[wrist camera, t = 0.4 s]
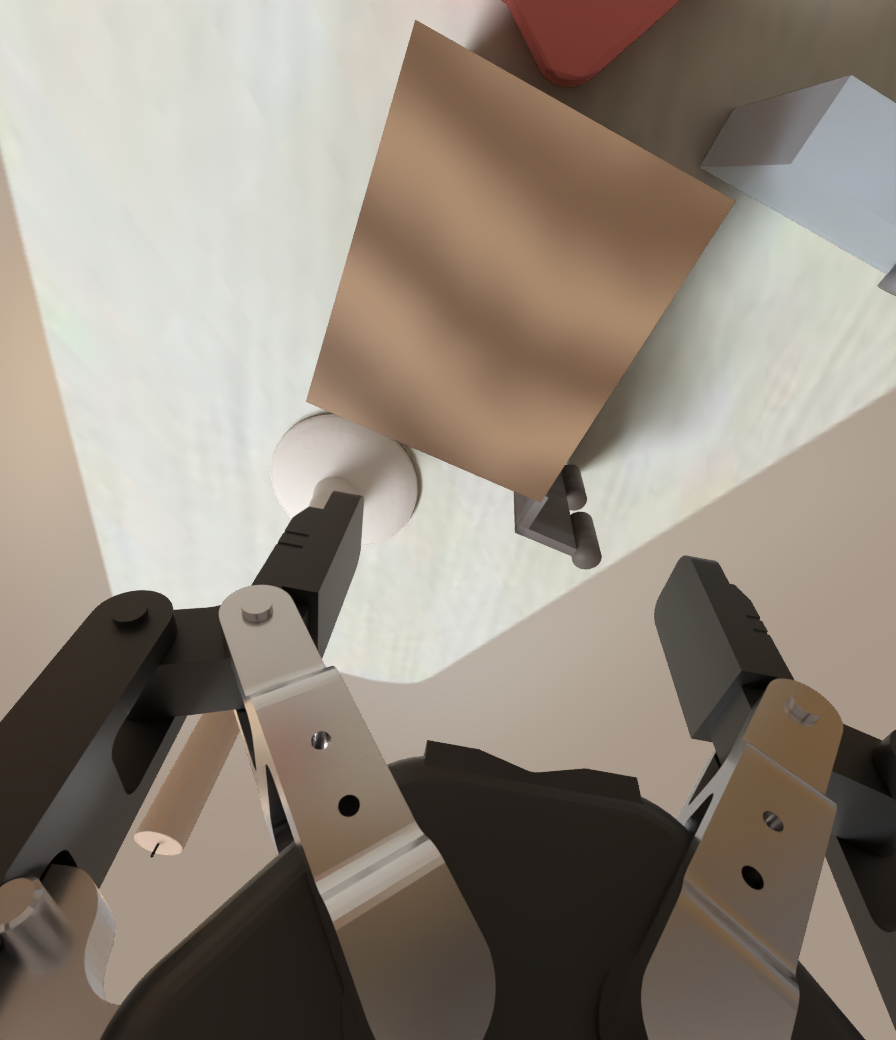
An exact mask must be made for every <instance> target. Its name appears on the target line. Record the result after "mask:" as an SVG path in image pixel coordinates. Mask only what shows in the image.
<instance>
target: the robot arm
mask: <svg viewBox="0 0 896 1040" xmlns="http://www.w3.org/2000/svg"><path fill="white" fill-rule="evenodd" d="M363 510H364V497H363V496H361V495H355V494H350V493H344V492H339V491H333V492H332V494H331V495H330V497H329V499H328V501H327V503H326V505H325V507H324V508H323V509H320V508H314V507H307V508H306V509H304V510H303V511H301V512H300V513H298V514H297V515H295V516H294V517H293V518H292V520H291V521H290V523H289V525H288V526H287V528H286V529H285V533H283V534H282V536H281V538H280V539H279V541H278V544H276V546H275V547H274V549H273V551H272V552H271V554H270V556H269V557H268V559H267V561H266V562H265V564H264V565H263V567H262V569H261V570H260V572H259V574H258V575H257V577H256V579H255V580H254V582H253V583H252V585H251V586H248V587H245V588H242V589H239V590H237V591H235V592H234V593H232V594H230V595H229V596H228V597H227V598H226V599H225V600H224V601H223V603H222V604H221V605H219V606H215V607H208V608H195V609H180V610H173V606H172V603H171V602H170V600H169V599H168V598H167V597H166V596H164V595H162V594H160V593H157V592H154V591H146V590H139V591H130V592H126V593H122V594H119V595H116V596H114V597H112V598H109V599H108V600H106V601H104V602H103V603H101V604H100V605H99V606H97V607H96V608H95V610H94V611H92V613H91V614H90V615H89V616H88V617H87V619H86V620H85V621H84V622H83V623H82V625H81V626H80V627H79V628H78V629H77V631H76V632H75V633H74V634H73V635H72V637H71V638H70V639H69V640H68V641H67V643H66V644H65V645H64V646H63V647H62V649H61V650H60V651H59V652H58V653H57V655H56V656H55V657H54V658H53V659H52V661H51V662H50V663H49V664H48V665H47V667H46V668H45V669H44V670H43V672H42V673H41V674H40V675H39V677H38V678H37V679H36V680H35V681H34V682H33V684H32V685H31V686H30V687H29V688H28V690H27V691H26V692H25V693H24V695H23V696H22V697H21V698H20V699H19V700H18V701H17V703H16V704H15V705H14V706H13V708H12V709H11V710H10V711H9V712H8V714H7V715H6V716H5V717H4V718H3V720H2V721H1V722H0V1040H865V1039H864V1038H863V1036H862V1035H861V1034H860V1033H859V1032H858V1030H857V1029H856V1028H855V1027H854V1026H853V1024H852V1023H851V1022H850V1021H849V1020H848V1018H847V1017H846V1016H845V1015H844V1014H843V1013H842V1011H841V1010H840V1009H839V1008H838V1007H837V1006H836V1004H835V1003H834V1002H833V1001H832V999H831V998H830V997H829V996H828V995H827V993H826V992H825V991H824V990H823V989H822V988H821V987H820V985H819V984H818V983H817V982H816V980H815V979H814V978H813V977H812V976H811V974H810V973H809V972H808V971H807V970H806V969H805V967H804V966H803V965H802V964H801V963H800V961H799V960H798V959H799V955H800V951H801V947H802V943H803V940H804V936H805V932H806V928H807V923H808V920H809V916H810V912H811V908H812V904H813V901H814V896H815V893H816V889H817V885H818V881H819V877H820V873H821V870H822V865H823V862H824V858H825V857H826V859H827V862H828V864H829V867H830V869H831V872H832V874H833V877H834V879H835V882H836V884H837V887H838V889H839V892H840V894H841V896H842V899H843V901H844V904H845V906H846V909H847V911H848V914H849V916H850V919H851V921H852V924H853V926H854V929H855V931H856V934H857V936H858V938H859V941H860V944H861V946H862V949H863V951H864V953H865V956H866V958H867V961H868V963H869V966H870V968H871V971H872V973H873V976H874V978H875V981H876V983H877V986H878V988H879V991H880V993H881V995H882V998H883V1000H884V1003H885V1005H886V1008H887V1010H888V1013H889V1015H890V1018H891V1020H892V1023H893V1025H894V1028H895V1030H896V730H894V731H893V732H892V733H891V734H890V735H888V736H887V737H886V738H885V739H884V740H883V741H882V740H880V739H877V738H875V737H873V736H870V735H868V734H866V733H863V732H861V731H859V730H856V729H854V728H852V727H849V726H847V725H845V724H843V722H842V720H841V717H840V715H839V714H838V712H837V711H836V709H835V708H834V707H833V706H832V704H831V703H830V702H829V701H828V700H827V699H826V698H824V697H823V696H822V695H821V694H819V693H818V692H817V691H815V690H814V689H812V688H810V687H809V686H807V685H805V684H802V683H800V682H797V681H795V680H794V678H793V677H792V675H791V673H790V671H789V669H788V668H787V666H786V664H785V662H784V661H783V659H782V657H781V655H780V653H779V651H778V649H777V648H776V646H775V644H774V642H773V640H772V639H771V637H770V635H767V632H768V631H767V629H766V627H765V626H764V624H763V622H762V621H760V616H759V615H758V613H757V611H756V609H755V607H754V606H753V604H752V602H751V600H750V599H748V597H747V596H745V595H744V594H743V593H742V592H741V591H740V590H739V589H738V588H737V587H736V586H735V585H733V584H729V582H728V580H727V578H726V576H725V574H724V572H723V570H722V568H721V566H720V565H719V563H718V562H716V561H713V560H707V559H702V558H697V557H691V556H683V557H681V558H680V559H679V561H678V562H677V564H676V566H675V568H674V570H673V572H672V574H671V575H670V577H669V579H668V581H667V583H666V585H665V587H664V588H663V590H662V592H661V594H660V596H659V598H658V600H657V603H656V606H655V613H654V619H655V625H656V628H657V631H658V635H659V638H660V641H661V644H662V647H663V650H664V653H665V656H666V660H667V663H668V666H669V669H670V673H671V676H672V679H673V682H674V685H675V688H676V692H677V695H678V698H679V701H680V705H681V708H682V711H683V714H684V717H685V720H686V724H687V727H688V730H689V733H690V736H691V738H692V739H697V740H703V741H708V742H713V744H714V747H715V751H714V752H713V754H712V755H711V756H710V758H709V759H708V761H707V763H706V765H705V766H704V768H703V770H702V772H701V774H700V776H699V778H698V780H697V782H696V783H695V785H694V787H693V789H692V791H691V793H690V794H689V796H688V798H687V800H686V802H685V804H684V806H683V808H682V810H681V811H680V813H679V815H678V817H677V818H676V819H675V818H674V817H673V816H671V815H670V814H669V813H667V812H666V811H665V810H663V809H662V808H660V807H659V806H657V805H656V804H654V803H652V802H650V801H648V800H647V799H645V798H643V797H641V795H640V790H639V785H638V781H637V778H636V777H630V776H624V775H619V774H613V773H608V772H602V771H597V770H591V769H574V770H562V771H550V772H536V773H535V772H530V771H527V770H525V769H523V768H520V767H518V766H516V765H513V764H511V763H509V762H507V761H504V760H502V759H500V758H497V757H495V756H493V755H491V754H488V753H486V752H484V751H481V750H479V749H474V748H468V747H463V746H457V745H451V744H446V743H440V742H434V741H429V740H427V744H426V748H425V753H424V756H421V757H412V758H407V759H403V760H399V761H396V762H393V763H390V764H388V765H387V764H386V762H385V760H384V758H383V756H382V754H381V752H380V750H379V748H378V747H377V745H376V743H375V741H374V739H373V737H372V735H371V733H370V731H369V729H368V727H367V725H366V723H365V721H364V719H363V717H362V715H361V713H360V711H359V709H358V707H357V705H356V703H355V701H354V700H353V697H352V696H351V694H350V692H349V690H348V688H347V686H346V684H345V682H344V680H343V678H342V676H341V674H340V673H339V671H338V670H337V669H336V668H335V667H334V666H331V667H328V668H327V667H326V666H325V664H324V663H323V661H322V657H323V655H324V652H325V650H326V647H327V644H328V642H329V639H330V636H331V634H332V631H333V628H334V626H335V623H336V620H337V618H338V615H339V613H340V610H341V607H342V605H343V602H344V599H345V597H346V594H347V591H348V589H349V586H350V583H351V581H352V578H353V576H354V573H355V570H356V567H357V564H358V560H359V555H360V550H361V539H362V524H363ZM227 710H234V714H235V717H236V720H237V723H238V726H239V729H240V733H241V736H242V739H243V742H244V745H245V749H246V752H247V755H248V758H249V761H250V765H251V768H252V771H253V774H254V777H255V781H256V785H257V788H258V792H259V797H260V802H261V806H262V810H263V814H264V818H265V821H266V825H267V828H268V832H269V835H270V838H271V841H272V844H273V847H274V851H275V854H276V857H275V858H274V859H273V860H272V861H271V862H270V863H268V864H267V865H266V866H265V867H264V868H263V869H262V870H261V871H260V872H258V873H257V874H256V875H255V876H254V877H253V878H252V879H251V880H249V882H247V883H246V884H245V885H244V886H243V887H242V888H241V889H239V890H238V891H237V892H236V893H235V894H234V895H233V896H232V897H230V898H229V899H228V900H227V901H226V902H225V903H224V904H223V905H222V906H220V907H219V908H218V909H217V910H216V911H215V912H214V913H213V914H212V915H210V916H209V917H208V918H207V919H206V920H205V921H204V922H203V923H202V924H200V925H199V926H198V927H197V928H196V929H195V930H194V931H192V932H191V933H190V934H189V935H188V936H187V937H186V938H185V939H183V940H182V941H181V942H180V943H179V944H178V945H177V946H176V947H175V948H173V949H172V950H171V951H170V952H169V953H168V954H167V955H166V956H165V957H163V958H162V959H161V960H160V961H159V962H158V963H157V964H156V965H155V966H154V967H153V968H151V969H150V971H149V972H148V973H147V974H146V975H145V976H144V977H143V978H142V979H141V980H140V981H139V982H138V984H137V985H136V986H135V987H134V988H133V990H132V991H131V992H130V993H129V995H128V996H127V997H126V999H125V1000H124V1001H123V1002H122V1004H121V1005H116V1004H111V1003H109V1002H107V1001H106V998H105V992H104V976H105V971H106V965H107V962H108V959H109V956H110V953H111V950H112V947H113V943H114V938H115V921H114V916H113V914H112V912H111V909H110V908H109V906H108V904H107V903H106V901H105V899H104V898H103V896H102V894H101V893H100V891H99V888H100V886H101V884H102V882H103V880H104V878H105V876H106V874H107V872H108V870H109V868H110V866H111V865H112V863H113V861H114V859H115V857H116V855H117V853H118V851H119V849H120V847H121V845H122V843H123V841H124V839H125V837H126V835H127V833H128V831H129V829H130V827H131V825H132V823H133V821H134V819H135V817H136V815H137V813H138V811H139V809H140V807H141V805H142V804H143V802H144V799H145V798H146V796H147V794H148V792H149V790H150V788H151V786H152V784H153V782H154V780H155V778H156V775H157V774H158V772H159V770H160V768H161V766H162V764H163V762H164V760H165V758H166V756H167V754H168V752H169V750H170V748H171V746H172V744H173V742H174V741H175V738H176V737H177V734H178V733H179V731H180V729H181V727H182V725H183V723H184V721H185V719H186V717H187V715H194V714H202V713H211V712H219V711H227Z"/></svg>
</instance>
